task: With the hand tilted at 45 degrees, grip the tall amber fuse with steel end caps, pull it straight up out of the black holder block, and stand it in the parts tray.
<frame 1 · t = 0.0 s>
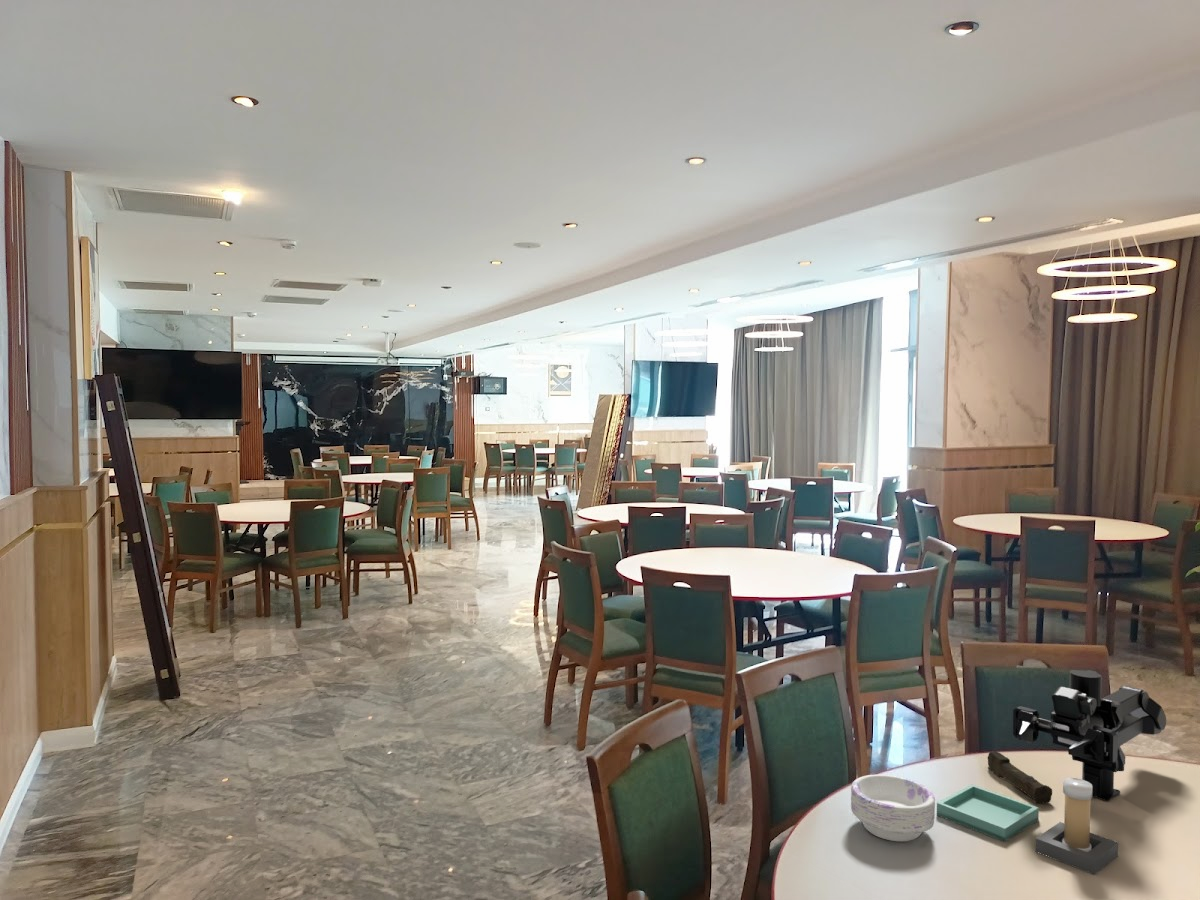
hand: (1043, 744, 160), 17 cm above the table, tool horizontal, fingers open, 9 cm apart
fuse: (1077, 818, 151), in the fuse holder
parts tray: (987, 817, 166), on the table
paper bowls: (892, 831, 161), on the table
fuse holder: (1076, 853, 152), on the table
dark brown rod: (1012, 786, 181), on the table
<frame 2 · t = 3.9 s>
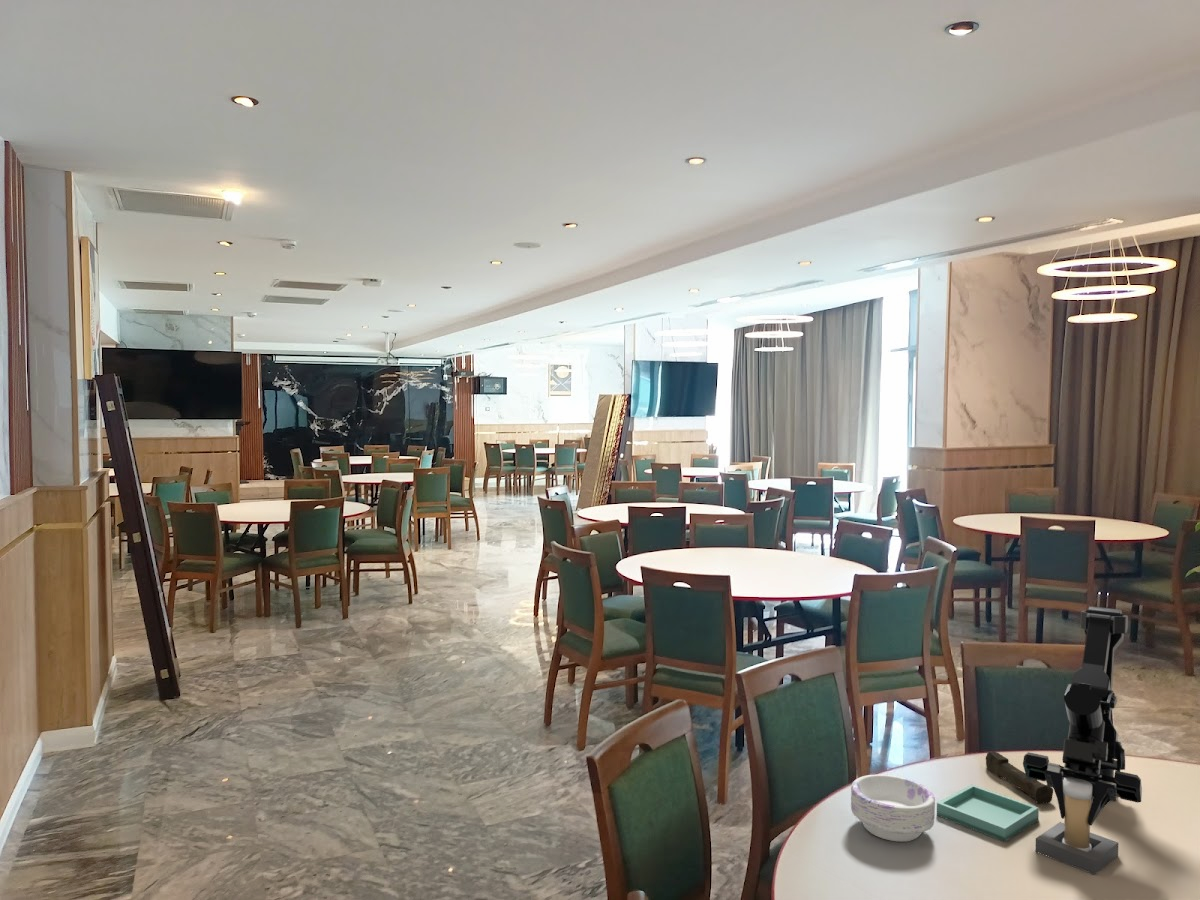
hand: (1075, 821, 150), 7 cm above the table, tool tilted 45°, fingers closed on fuse, 4 cm apart
fuse: (1077, 818, 151), in the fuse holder, touching gripper
everything else where it was.
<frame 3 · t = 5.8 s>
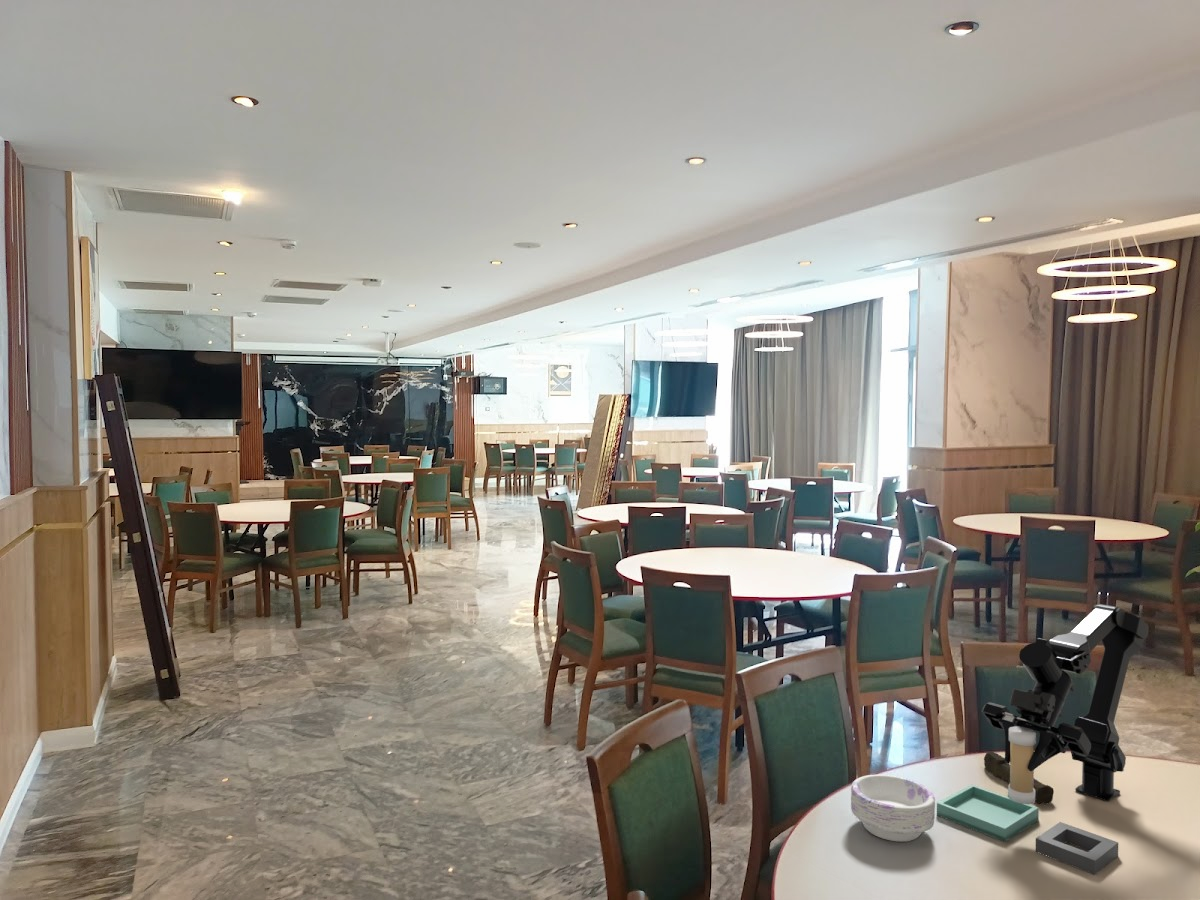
hand: (1017, 766, 158), 13 cm above the table, tool tilted 45°, fingers closed on fuse, 4 cm apart
fuse: (1021, 764, 158), point 13 cm above the table, touching gripper
everything else where it was.
when the fingers open (9 cm above the table, at t = 7.8 s): fuse drops 1 cm, resting on parts tray.
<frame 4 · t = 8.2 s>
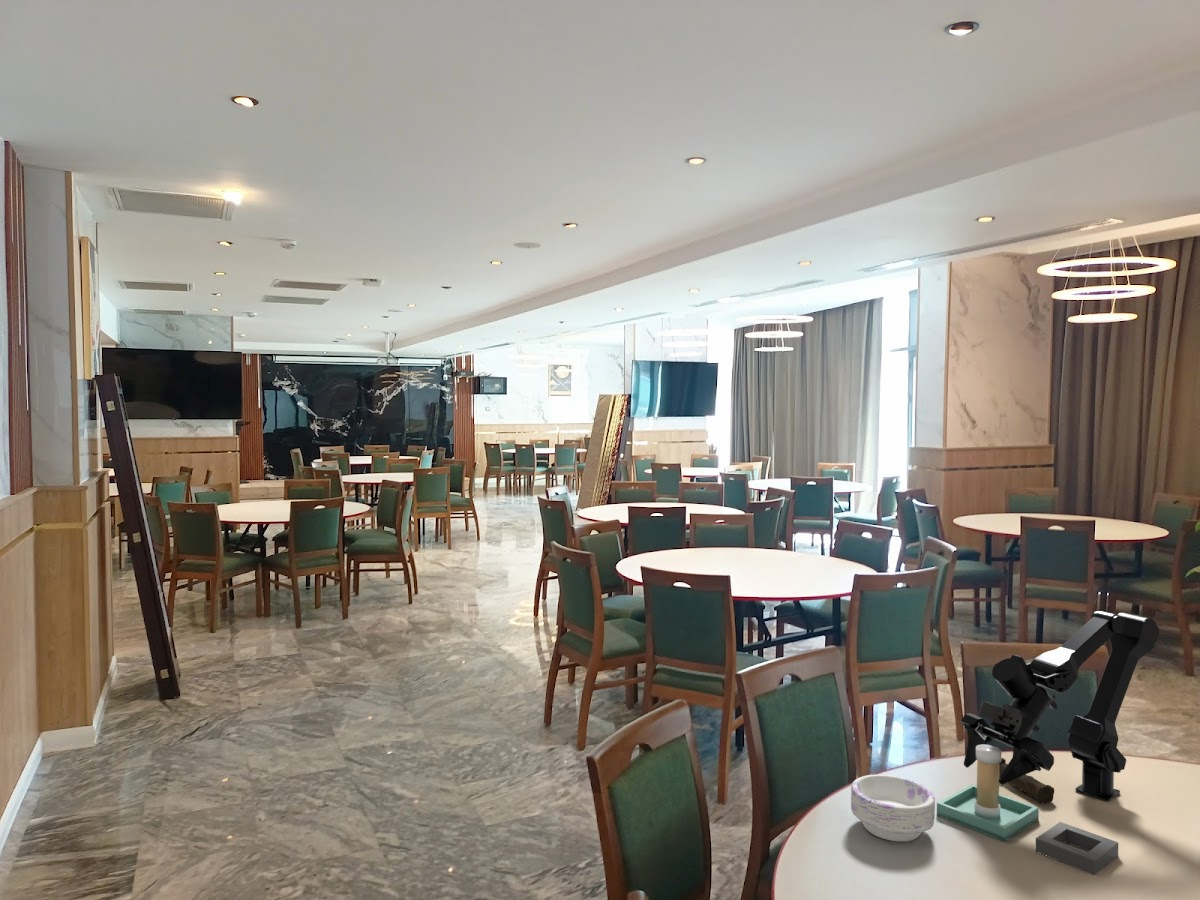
hand: (982, 774, 165), 9 cm above the table, tool tilted 45°, fingers open, 8 cm apart
fuse: (987, 781, 165), in the parts tray, point 7 cm above the table
everything else where it was.
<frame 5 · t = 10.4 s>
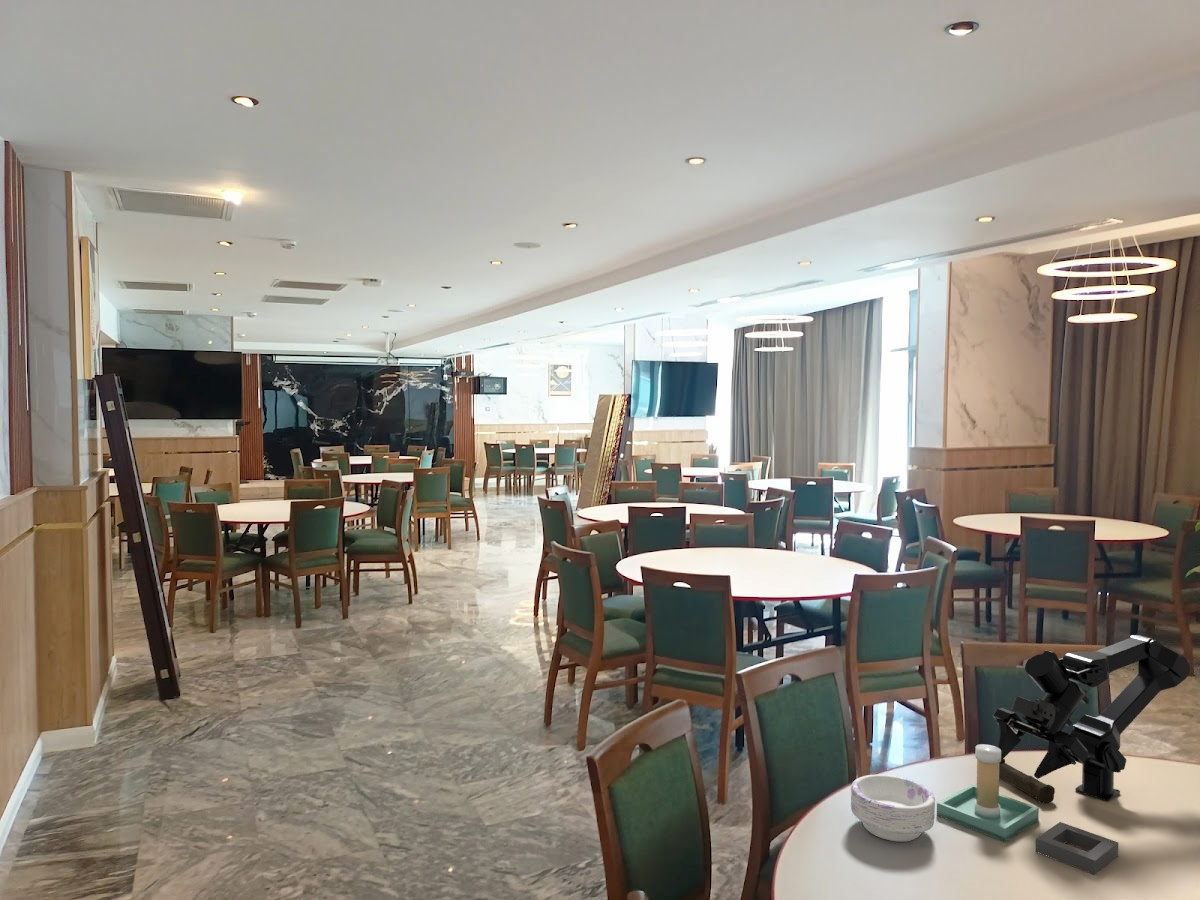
hand: (1016, 768, 168), 9 cm above the table, tool tilted 45°, fingers open, 9 cm apart
nothing on the table moved.
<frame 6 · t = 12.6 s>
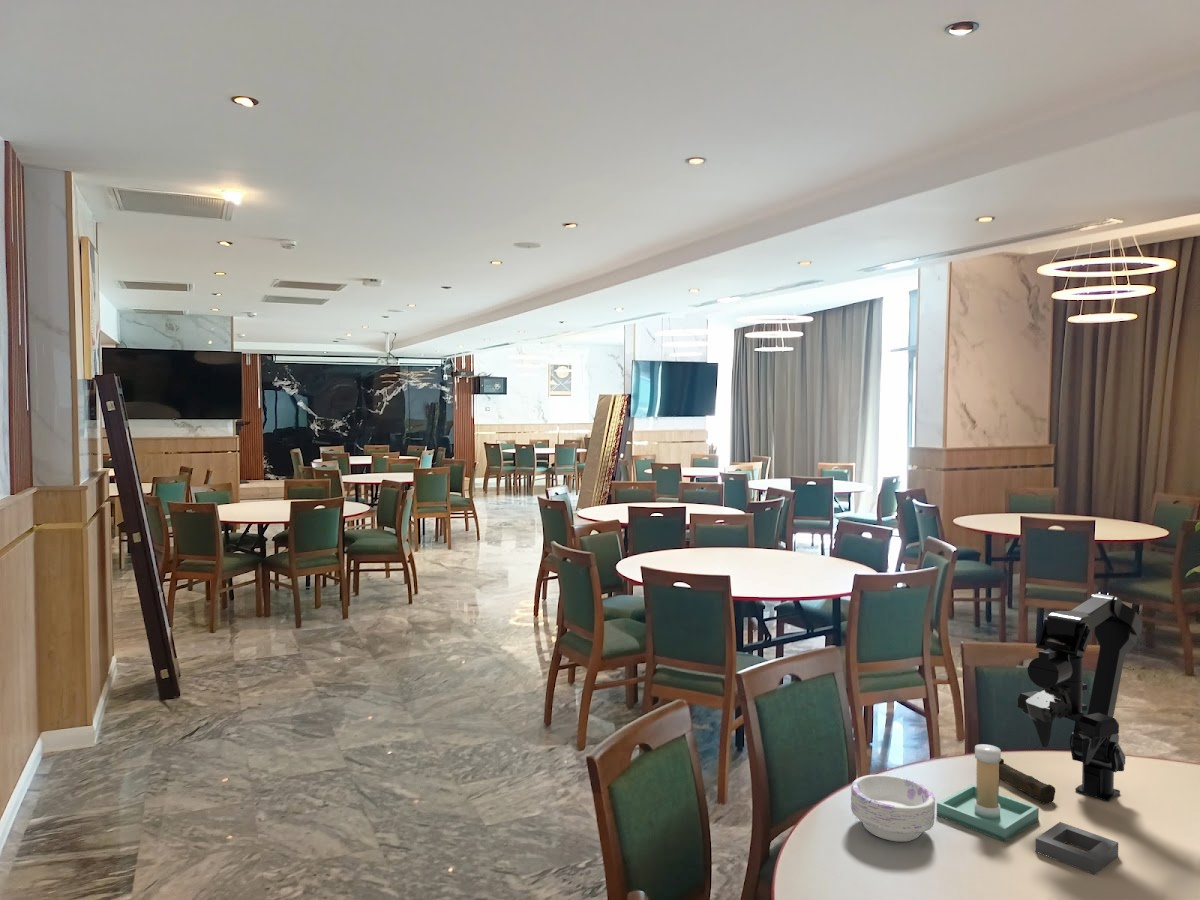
hand: (1065, 755, 166), 12 cm above the table, tool pointing down, fingers open, 9 cm apart
at the end: fuse inside the target area on the parts tray (0.0 cm from its centre), point 7.3 cm above the parts tray's base; fuse tilted 0°; the gripper is holding nothing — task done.
